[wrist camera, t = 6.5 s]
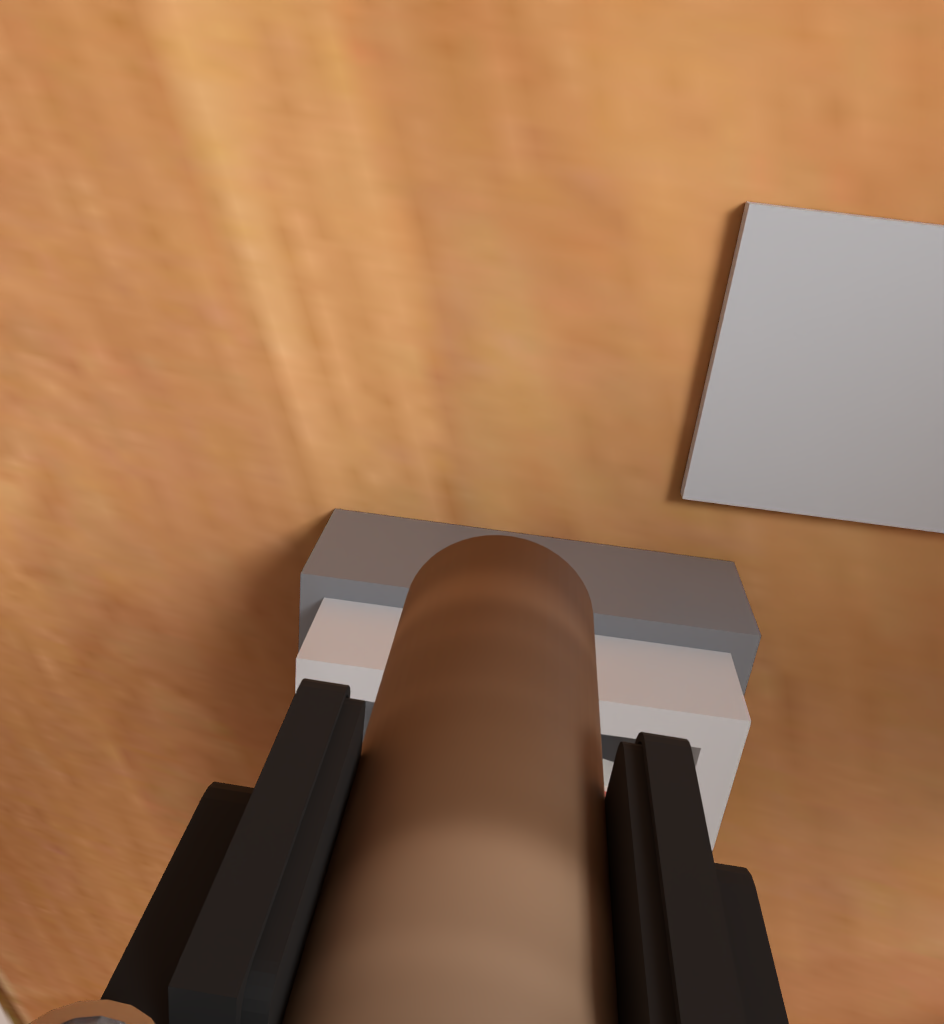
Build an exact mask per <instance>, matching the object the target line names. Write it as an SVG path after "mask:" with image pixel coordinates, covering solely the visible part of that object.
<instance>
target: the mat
mask: <svg viewBox="0 0 944 1024" xmlns="http://www.w3.org/2000/svg"><path fill="white" fill-rule="evenodd" d="M681 496H682V499H687V500H695V501H702V502H710V503H718V504H725V505H733V506H740V507H748V508H756V509H763V510H771V511H779V512H786V513H794V514H801V515H809V516H817V517H824V518H832V519H839V520H847V521H855V522H862V523H870V524H877V525H885V526H893V527H900V528H908V529H915V530H923V531H931V532H938V533H944V225H938V224H930V223H921V222H913V221H905V220H896V219H888V218H880V217H871V216H863V215H855V214H847V213H838V212H830V211H822V210H813V209H805V208H797V207H788V206H780V205H772V204H763V203H755V202H747V201H746V204H745V208H744V213H743V217H742V221H741V226H740V230H739V235H738V239H737V244H736V248H735V252H734V257H733V261H732V266H731V270H730V275H729V279H728V283H727V288H726V292H725V297H724V301H723V306H722V310H721V314H720V319H719V323H718V328H717V332H716V337H715V341H714V345H713V350H712V354H711V359H710V363H709V368H708V372H707V376H706V381H705V385H704V390H703V394H702V399H701V403H700V407H699V412H698V416H697V421H696V425H695V430H694V434H693V438H692V443H691V447H690V452H689V456H688V461H687V465H686V469H685V474H684V478H683V483H682V487H681Z"/></svg>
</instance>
